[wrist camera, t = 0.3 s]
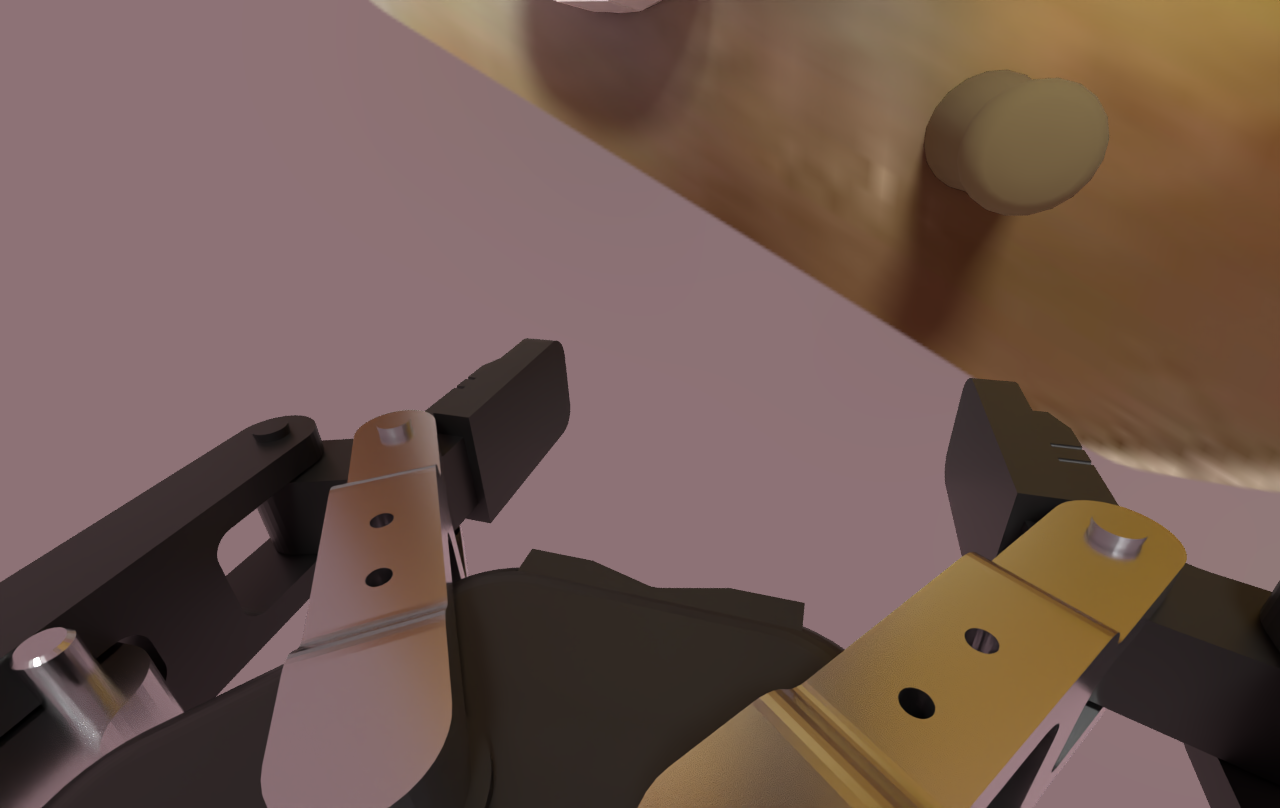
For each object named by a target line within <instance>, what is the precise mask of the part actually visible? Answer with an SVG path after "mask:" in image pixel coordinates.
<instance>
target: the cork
mask: <svg viewBox="0 0 1280 808" xmlns="http://www.w3.org/2000/svg"><path fill="white" fill-rule="evenodd" d="M1108 141H1109V127H1108V117H1107V115H1106V113H1105V111H1104V109H1103V107H1102V105H1101V103H1100V101H1099V99H1098V97H1097V96H1096V95H1094V94H1093V93H1092V92H1091V91H1089V90H1088V89H1087V88H1085V87H1084V86H1083V85H1082V84H1080V83H1076V82H1073V81H1069V80H1065V79H1062V78H1048V79H1034V80H1032V79H1031V78H1029V77H1028V76H1027V75H1025V74H1021V73H1017V72H1014V71H1010V70H999V71H987V72H984V73H981V74H979V75H976V76H974V77H971V78H968V79H966V80H965V81H963V82H962V83H961V84H959V85H958V86H956V87H955V88H954V89H952V90H951V91H950V92H948V94H947V95H946V96H945V97H944V98H943V100H942V101H941V102H940V103H939V104H938V106H937V107H936V108H935V110H934V112H933V114H932V116H931V119H930V121H929V123H928V125H927V128H926V135H925V142H924V149H925V154H926V160H927V163H928V165H929V167H930V168H931V170H932V172H933V173H934V175H935V176H936V177H937V178H938V179H939V180H941V181H942V182H943V183H945V184H946V185H947V186H949V187H952V188H955V189H959V190H962V191H966V192H967V193H968V195H969V196H970V198H971V199H973V200H974V201H975V202H977V203H978V204H979V205H981V206H982V207H983V208H985V209H986V210H989V211H992V212H995V213H999V214H1002V215H1005V216H1006V215H1031V214H1034V213H1038V212H1041V211H1045V210H1048V209H1052V208H1054V207H1056V206H1057V205H1059V204H1061V203H1063V202H1064V201H1066V200H1068V199H1070V198H1071V197H1073V196H1074V195H1075V194H1076V193H1077V192H1078V191H1079V190H1080V189H1082V188H1083V187H1084V186H1085V185H1086V184H1087V183H1088V182H1089V181H1090V180H1091V179H1092V177H1093V175H1094V174H1095V172H1096V171H1097V169H1098V167H1099V166H1100V164H1101V163H1102V161H1103V159H1104V155H1105V152H1106V148H1107V145H1108Z"/></svg>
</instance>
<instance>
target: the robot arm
mask: <svg viewBox="0 0 1280 808" xmlns="http://www.w3.org/2000/svg"><path fill="white" fill-rule="evenodd" d="M569 416H570V401H569V391H568V382H567V373H566V364H565V355H564V350H563V347H562V345H561V343H560V342H558V341H550V340H540V339H528V338H527V339H524V340H522V341H521V342H520V343H519V344H518V345H516V346H515V347H514V348H513V349H512V350H510V351H509V352H508V353H506V354H505V355H504V356H503V357H501V358H500V359H497V360H495V361H493V362H491V363H488V364H486V365H483V366H482V367H480V368H479V369H478V370H476V371H475V372H474V373H473V374H471V375H470V376H469V377H468V379H465V380H464V381H463V382H461V383H460V384H459V385H458V386H457V388H454V389H452V390H451V391H450V392H449V393H447V394H446V395H445V396H444V397H442V398H441V399H440V400H438V401H437V402H436V403H435V404H433V405H432V406H431V407H430V408H428V409H427V410H426V411H425V412H424V411H419V410H402V411H396V412H391V413H387V414H384V415H381V416H378V417H376V418H374V419H372V420H370V421H368V422H366V423H365V424H363V425H362V426H361V427H360V428H359V429H358V430H357V431H356V433H355V435H354V439H345V440H344V439H343V440H325V441H322V440H321V438H320V435H319V432H318V429H317V426H316V424H315V421H314V420H312V419H311V418H309V417H306V416H296V415H295V416H283V417H278V418H273V419H269V420H266V421H263V422H260V423H257V424H255V425H252V426H250V427H248V428H246V429H245V430H243V431H241V432H240V433H238V434H236V435H235V436H233V437H232V438H230V439H228V440H227V441H225V442H223V443H222V444H220V445H219V446H217V447H215V448H214V449H212V450H211V451H209V452H207V453H206V454H204V455H203V456H201V457H200V458H198V459H196V460H195V461H193V462H192V463H190V464H189V465H187V466H185V467H184V468H182V469H180V470H179V471H177V472H176V473H174V474H172V475H171V476H169V477H168V478H166V479H164V480H163V481H161V482H160V483H158V484H156V485H155V486H153V487H152V488H150V489H149V490H147V491H145V492H144V493H142V494H141V495H139V496H138V497H136V498H134V499H133V500H131V501H130V502H128V503H126V504H125V505H123V506H121V507H120V508H118V509H117V510H115V511H114V512H112V513H110V514H109V515H107V516H105V517H104V518H102V519H101V520H99V521H97V522H96V523H94V524H93V525H91V526H90V527H88V528H86V529H85V530H83V531H82V532H80V533H78V534H77V535H75V536H74V537H72V538H70V539H69V540H67V541H66V542H64V543H62V544H61V545H59V546H58V547H56V548H54V549H53V550H52V551H50V552H48V553H47V554H45V555H43V556H42V557H40V558H38V559H37V560H35V561H34V562H32V563H30V564H29V565H27V566H26V567H24V568H22V569H21V570H19V571H18V572H16V573H15V574H13V575H11V576H10V577H8V578H7V579H5V580H4V581H2V582H0V808H1034V806H1035V805H1036V803H1037V802H1038V800H1039V799H1040V797H1041V796H1042V794H1043V793H1044V792H1045V790H1046V789H1047V788H1048V786H1049V785H1050V784H1051V782H1052V781H1053V780H1054V778H1055V777H1056V776H1057V774H1058V773H1059V772H1060V770H1061V769H1062V768H1063V766H1064V765H1065V764H1066V762H1067V761H1068V760H1069V758H1070V757H1071V756H1072V754H1073V753H1074V752H1075V750H1076V749H1077V748H1078V747H1079V745H1080V744H1081V743H1082V741H1083V740H1084V739H1085V737H1086V736H1087V734H1088V733H1089V732H1090V730H1091V729H1092V728H1093V727H1094V725H1095V724H1096V723H1097V721H1098V720H1099V719H1100V717H1101V716H1102V715H1103V713H1104V712H1105V710H1106V708H1107V709H1109V710H1112V711H1114V712H1116V713H1118V714H1120V715H1123V716H1125V717H1127V718H1129V719H1132V720H1134V721H1136V722H1138V723H1141V724H1143V725H1145V726H1148V727H1150V728H1152V729H1154V730H1157V731H1159V732H1161V733H1163V734H1165V735H1168V736H1170V737H1172V738H1174V739H1177V740H1179V741H1181V742H1183V743H1184V745H1185V748H1186V751H1187V753H1188V755H1189V758H1190V760H1191V762H1192V765H1193V767H1194V770H1195V772H1196V774H1197V777H1198V779H1199V781H1200V784H1201V786H1202V788H1203V791H1204V793H1205V795H1206V798H1207V800H1208V802H1209V805H1210V807H1211V808H1280V581H1279V582H1278V584H1277V586H1276V587H1275V589H1274V590H1273V592H1270V591H1267V590H1263V589H1261V588H1258V587H1255V586H1251V585H1248V584H1245V583H1242V582H1239V581H1236V580H1233V579H1229V578H1226V577H1223V576H1220V575H1217V574H1214V573H1210V572H1208V571H1205V570H1202V569H1199V568H1196V567H1194V566H1192V565H1189V564H1187V563H1185V562H1186V560H1187V554H1186V551H1185V548H1184V547H1183V545H1182V544H1181V542H1180V541H1179V540H1178V539H1177V538H1176V537H1175V536H1174V535H1173V534H1172V533H1171V532H1170V531H1168V530H1167V529H1166V528H1164V527H1163V526H1161V525H1160V524H1158V523H1156V522H1155V521H1153V520H1151V519H1150V518H1148V517H1146V516H1144V515H1142V514H1139V513H1137V512H1135V511H1132V510H1129V509H1127V508H1124V507H1120V506H1119V505H1118V504H1117V502H1116V501H1115V499H1114V497H1113V496H1112V494H1111V492H1110V491H1109V489H1108V488H1107V486H1106V484H1105V483H1104V481H1103V480H1102V478H1101V476H1100V475H1099V473H1098V472H1097V470H1096V468H1095V467H1094V465H1091V460H1090V459H1089V457H1088V455H1087V454H1086V452H1085V451H1084V450H1082V446H1081V444H1080V442H1079V441H1078V439H1077V438H1076V436H1075V434H1074V433H1073V431H1072V430H1071V428H1069V427H1068V426H1066V425H1065V424H1064V423H1062V422H1061V421H1059V420H1058V419H1057V418H1055V417H1054V416H1052V415H1051V414H1049V413H1048V412H1041V411H1032V409H1031V407H1030V405H1029V404H1028V402H1027V400H1026V398H1025V396H1024V394H1023V392H1022V391H1021V389H1020V387H1019V385H1018V384H1017V383H1016V382H1009V381H997V380H986V379H975V378H969V379H968V380H967V381H966V383H965V385H964V388H963V391H962V395H961V399H960V403H959V407H958V411H957V415H956V419H955V423H954V427H953V431H952V435H951V439H950V443H949V447H948V451H947V456H946V463H945V484H946V489H947V493H948V497H949V502H950V506H951V510H952V515H953V520H954V524H955V528H956V533H957V537H958V541H959V546H960V550H961V554H962V557H961V558H960V559H959V560H957V561H956V562H955V563H954V564H952V565H951V566H950V567H949V568H947V569H946V570H945V571H944V572H943V573H941V574H940V575H939V576H938V577H936V578H935V579H934V580H932V581H931V582H930V583H928V584H927V585H926V586H925V587H924V588H922V589H921V590H920V591H919V592H917V593H916V594H915V595H913V596H912V597H911V598H910V599H908V600H907V601H906V602H905V603H903V604H902V605H901V606H900V607H898V608H897V609H896V610H894V611H893V612H892V613H891V614H890V615H888V616H887V617H886V618H884V619H883V620H882V621H881V622H879V623H878V624H877V625H876V626H874V627H873V628H872V629H871V630H869V631H868V632H867V633H865V634H864V635H863V636H862V637H861V638H859V639H858V640H857V641H856V642H854V643H853V644H852V645H851V646H849V647H848V648H847V649H843V648H842V647H840V646H839V645H837V644H836V643H834V642H833V641H831V640H829V639H827V638H825V637H824V636H822V635H820V634H818V633H816V632H814V631H812V630H810V629H808V628H806V627H803V615H804V603H802V602H797V601H791V600H786V599H781V598H776V597H771V596H766V595H761V594H756V593H751V592H746V591H741V590H736V589H731V588H655V587H651V586H648V585H646V584H643V583H641V582H639V581H637V580H635V579H632V578H630V577H628V576H626V575H623V574H621V573H619V572H617V571H614V570H612V569H610V568H608V567H605V566H603V565H601V564H599V563H596V562H594V561H591V560H586V559H581V558H576V557H571V556H566V555H561V554H556V553H550V552H545V551H541V550H536V549H532V550H531V552H530V553H529V555H528V556H527V557H526V559H525V561H524V562H523V563H522V565H521V566H520V568H507V569H498V570H492V571H487V572H482V573H479V574H475V575H472V576H469V574H468V567H467V560H466V553H465V545H464V539H463V534H462V530H461V525H460V524H461V523H462V522H463V521H464V519H465V518H467V519H471V520H476V521H482V522H487V523H491V522H492V521H493V520H494V518H495V517H496V516H497V515H498V513H499V512H500V511H501V510H502V508H503V507H504V506H505V505H506V504H507V502H508V501H509V500H510V498H511V497H512V496H513V495H514V494H515V492H516V491H517V490H518V489H519V487H520V486H521V485H522V484H523V482H524V481H525V480H526V479H527V477H528V476H529V475H530V474H531V472H532V471H533V470H534V469H535V467H536V466H537V465H538V464H539V462H540V461H541V460H542V459H543V458H544V456H545V455H546V454H547V453H548V451H549V450H550V449H551V447H552V446H553V445H554V444H555V443H556V441H557V440H558V439H559V438H560V436H561V435H562V434H563V433H564V431H565V429H566V427H567V425H568V421H569ZM256 508H257V509H258V511H259V513H260V516H261V518H262V520H263V522H264V525H265V527H266V529H267V531H268V534H269V536H270V539H268V540H267V541H266V542H265V543H264V544H263V545H262V546H260V547H259V548H258V549H257V550H256V551H255V552H253V553H252V554H251V555H250V556H249V557H248V558H246V559H245V560H244V561H243V562H242V563H241V564H239V565H238V566H237V567H236V568H235V569H234V570H232V571H231V572H230V573H229V574H228V575H227V576H225V574H224V572H223V570H222V569H221V567H220V565H219V562H218V559H217V550H218V545H219V543H220V541H221V539H222V537H223V536H224V535H225V533H226V532H227V531H228V530H230V529H231V528H232V527H233V526H235V525H236V524H237V523H238V522H240V521H241V520H242V519H243V518H245V517H246V516H247V515H249V514H250V513H251V512H252V511H254V510H255V509H256ZM309 598H310V600H309V605H308V611H307V616H306V622H305V627H304V633H303V638H302V642H301V644H300V646H299V648H298V649H297V650H294V651H292V652H291V653H290V654H289V655H288V657H287V659H286V661H285V663H284V664H283V665H281V666H279V667H277V668H275V669H273V670H270V671H268V672H266V673H264V674H262V675H260V676H258V677H256V678H254V679H252V680H250V681H248V682H246V683H244V684H242V685H239V686H237V687H235V688H233V689H231V690H229V691H228V692H225V693H223V694H221V695H219V696H217V695H218V694H219V693H220V691H221V690H222V689H223V688H224V687H225V686H226V685H227V684H228V683H229V682H230V681H231V680H232V679H233V678H234V677H235V676H236V674H237V673H239V672H240V670H241V669H242V668H243V667H244V666H245V665H246V664H247V663H248V662H249V661H250V660H251V659H252V658H253V657H254V656H255V655H256V654H257V652H259V650H261V648H262V647H263V646H264V645H265V644H266V643H267V642H268V641H269V640H270V639H271V638H272V637H273V636H274V635H275V634H276V633H277V632H278V631H279V630H280V629H281V628H282V626H283V625H284V624H285V623H286V622H287V621H288V620H289V619H290V618H291V617H292V616H293V615H294V614H295V613H296V612H297V611H298V610H299V609H300V608H301V607H302V606H303V604H304V603H305V602H306V601H307V600H308V599H309ZM216 696H217V697H216Z"/></svg>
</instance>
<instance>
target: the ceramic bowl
mask: <svg viewBox="0 0 1280 808" xmlns="http://www.w3.org/2000/svg"><path fill="white" fill-rule="evenodd" d="M554 1H556V2H560V3H563V4H567V5H571V6H574V7H578V8H582V9H585V10H589V11H592V12H612V13H629V12H640V11H643V10H644V9H646V8H648V7H651V6H653V5H655V4H657V3H659V2H660V1H662V0H554Z"/></svg>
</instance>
